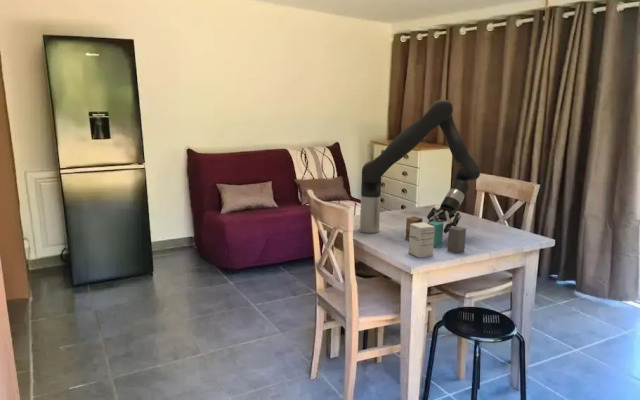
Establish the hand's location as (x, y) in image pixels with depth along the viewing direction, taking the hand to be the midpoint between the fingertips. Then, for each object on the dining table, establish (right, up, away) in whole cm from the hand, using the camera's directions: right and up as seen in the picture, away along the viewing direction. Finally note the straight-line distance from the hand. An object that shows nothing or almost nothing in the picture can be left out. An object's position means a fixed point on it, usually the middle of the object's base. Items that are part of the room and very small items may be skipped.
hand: (436, 230), depth 216 cm
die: (+11, +2, +45) cm, 47 cm away
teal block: (-1, -7, +1) cm, 7 cm away
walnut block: (-8, -5, +9) cm, 13 cm away
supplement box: (-9, -9, -12) cm, 18 cm away
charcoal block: (+7, -8, -7) cm, 13 cm away
